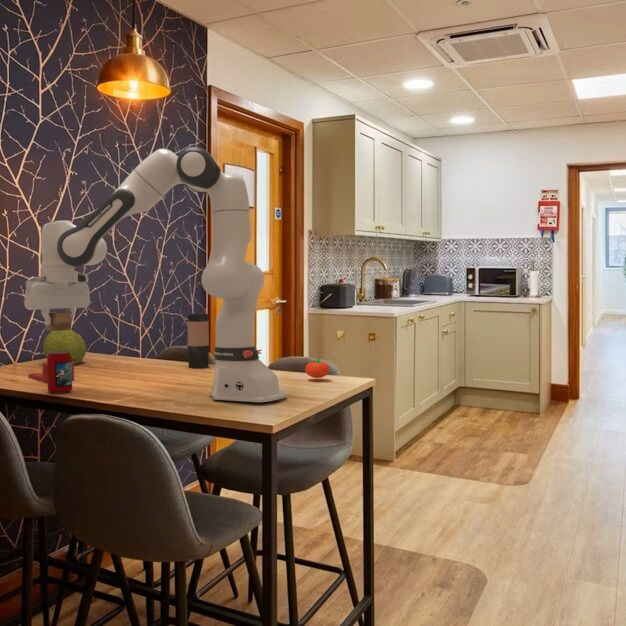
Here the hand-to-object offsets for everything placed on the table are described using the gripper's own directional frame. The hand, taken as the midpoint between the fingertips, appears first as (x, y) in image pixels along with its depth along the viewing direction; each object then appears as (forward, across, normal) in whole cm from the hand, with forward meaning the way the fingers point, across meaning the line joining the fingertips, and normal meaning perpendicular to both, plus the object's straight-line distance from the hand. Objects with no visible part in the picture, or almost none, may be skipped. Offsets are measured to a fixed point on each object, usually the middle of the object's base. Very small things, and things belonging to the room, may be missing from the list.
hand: (58, 324), depth 196 cm
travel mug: (+20, +60, -1) cm, 63 cm away
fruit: (+20, +36, +42) cm, 58 cm away
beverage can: (+20, 0, 0) cm, 20 cm away
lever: (+20, +12, +20) cm, 31 cm away
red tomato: (+20, +63, -50) cm, 83 cm away
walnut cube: (+2, 0, 0) cm, 2 cm away
